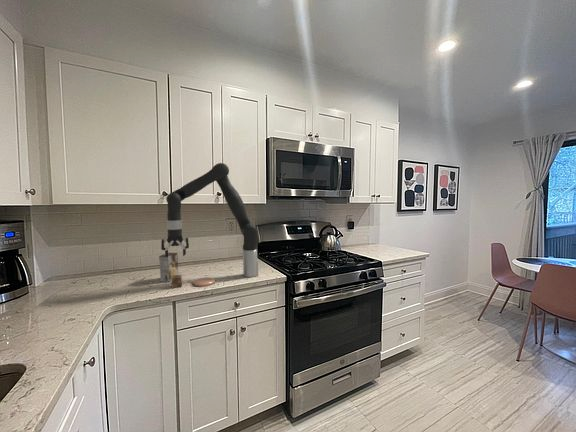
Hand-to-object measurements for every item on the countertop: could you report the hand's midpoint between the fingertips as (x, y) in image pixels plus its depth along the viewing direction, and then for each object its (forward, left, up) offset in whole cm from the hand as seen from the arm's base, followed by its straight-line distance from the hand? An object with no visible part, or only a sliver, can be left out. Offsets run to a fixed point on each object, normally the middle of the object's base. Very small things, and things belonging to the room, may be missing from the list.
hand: (175, 256), depth 146 cm
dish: (-15, 0, -18) cm, 23 cm away
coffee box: (+5, -15, -18) cm, 24 cm away
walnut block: (0, 0, -18) cm, 18 cm away
